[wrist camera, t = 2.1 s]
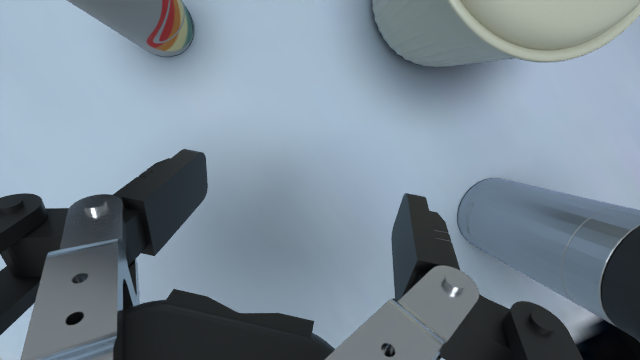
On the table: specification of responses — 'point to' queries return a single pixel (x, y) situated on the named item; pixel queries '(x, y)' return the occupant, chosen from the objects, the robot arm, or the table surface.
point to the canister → (500, 28)
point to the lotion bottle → (145, 22)
